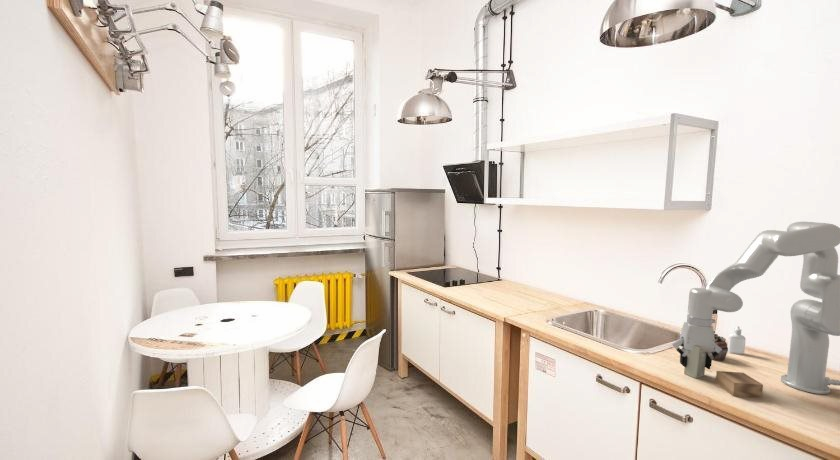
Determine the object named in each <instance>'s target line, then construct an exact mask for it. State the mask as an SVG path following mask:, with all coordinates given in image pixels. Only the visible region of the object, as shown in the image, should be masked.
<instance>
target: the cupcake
mask: <svg viewBox="0 0 840 460" xmlns="http://www.w3.org/2000/svg"><path fill="white" fill-rule="evenodd" d="M714 338H715V344H717V345H718V346H719V347H720V348H721V349H722V350H721V351H720V352H719V353H718V355H716V356H715V357H714V359H712V361H716V362H723V361H725V359H726V357H727V354H728V353H729V352H728V342H726V338H725V337H724V336H720V335H718V334H717V333H714ZM714 349H715V347H714Z"/></svg>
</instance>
